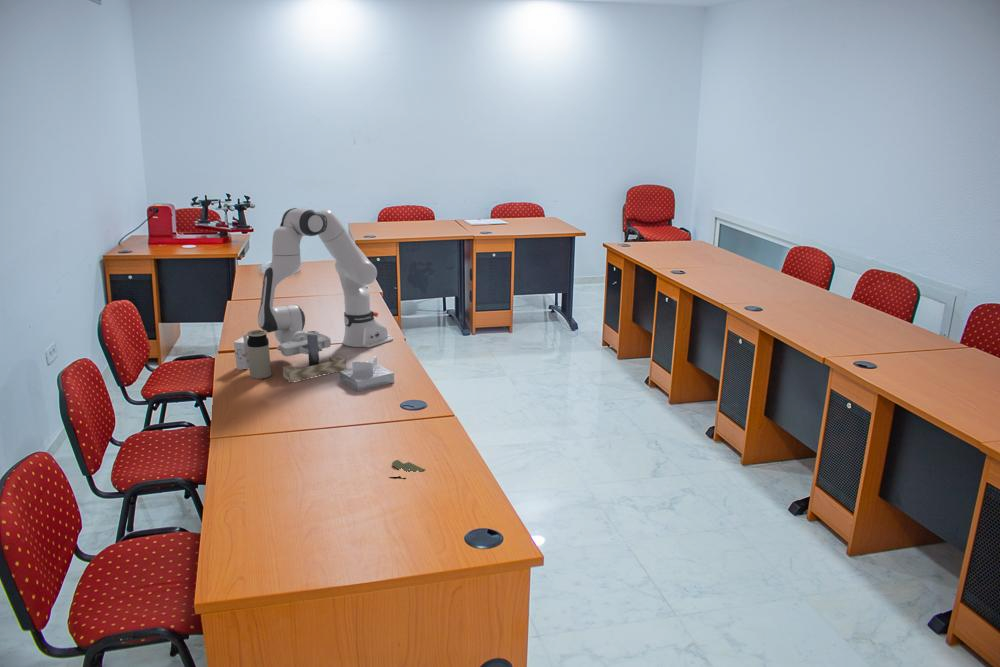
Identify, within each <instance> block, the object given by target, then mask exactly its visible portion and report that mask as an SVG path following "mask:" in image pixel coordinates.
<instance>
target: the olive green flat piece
mask: <svg viewBox="0 0 1000 667" xmlns="http://www.w3.org/2000/svg"><path fill="white" fill-rule="evenodd" d="M391 465H392V466H394V467H395V469H396V468H397V469H398V470H399V469H401V468H402V469H403V470H404V471H406V472H407V471H408V472H410V471H413V472H416V471H417V470H418V471H419V472H422V471H425V470H426V468H425V469H424V468H422V467H420V466H418V465H416V464H414V463H412V462H410V461H408V462H405V463H403V462H402V461H400V460H399V459H396V460H393V461H392V463H391ZM409 469H410V470H409Z"/></svg>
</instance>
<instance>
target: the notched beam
mask: <svg viewBox="0 0 1000 667" xmlns="http://www.w3.org/2000/svg"><path fill="white" fill-rule="evenodd" d="M343 370H347V359H346V358H344V357H342V356H340V355H339V354H337V355H332V356H329V357H328V361H327V362H322V363H319V364H318V365H313V366H309V365H308V366H305V367H301V368H298V367H296V366H294V365H287V366H283V367H282V375H283V377H284V378H285V379H284V378H283V379H284V380H286V379H287V380H288V382H289V381H290V382H293V383H295V382H294V381H297V382H299V381H298V380H302V381H304V380H303V379H306V380H308V379H307V378H310V379H312V378H311V377H315V376H319V375H323V374H327V375H329V374H328V373H332V374H335V373H334V372H336V373H340V372H339V371H343ZM323 376H324V375H323ZM319 377H320V376H319ZM315 378H316V377H315ZM287 380H286V381H287ZM290 382H289V383H290Z"/></svg>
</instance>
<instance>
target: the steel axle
mask: <svg viewBox="0 0 1000 667" xmlns="http://www.w3.org/2000/svg"><path fill="white" fill-rule="evenodd" d="M307 342H308V349H309V350H310V354H307V355H308V367H309V366H313V365H318V364H320V351H318V336H317V335H315V334H312V335H308V336H307Z"/></svg>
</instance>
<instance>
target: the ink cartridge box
mask: <svg viewBox="0 0 1000 667" xmlns="http://www.w3.org/2000/svg"><path fill="white" fill-rule="evenodd" d="M253 330H254V329H252V330H251V331H253ZM247 333H248V332H247ZM247 333H245V334H243V336H242V337H240V338H238V339H237V340H235V341H233V347H234V356H235V366H236V370H241V369H248V368H249V357H248V345H247V340H248V338H249V337H248V335H247ZM249 369H250V368H249ZM249 369H248V370H249Z"/></svg>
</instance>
